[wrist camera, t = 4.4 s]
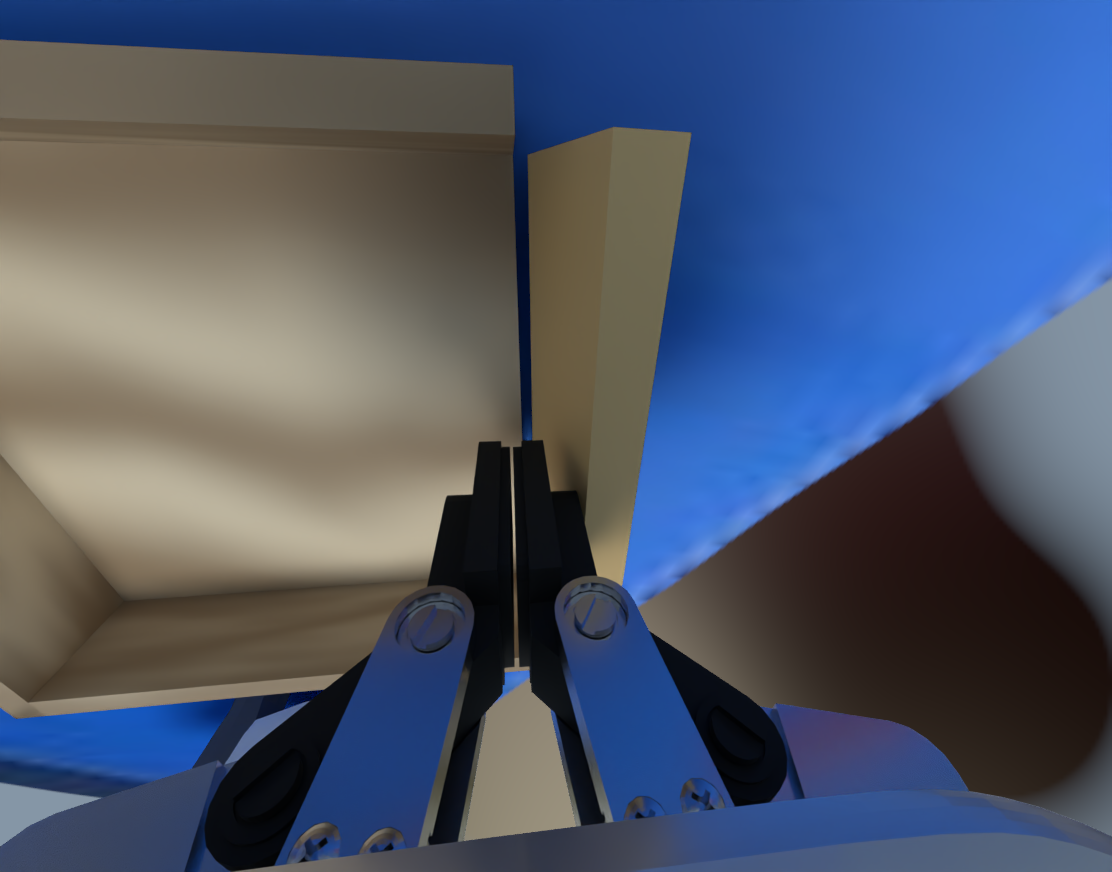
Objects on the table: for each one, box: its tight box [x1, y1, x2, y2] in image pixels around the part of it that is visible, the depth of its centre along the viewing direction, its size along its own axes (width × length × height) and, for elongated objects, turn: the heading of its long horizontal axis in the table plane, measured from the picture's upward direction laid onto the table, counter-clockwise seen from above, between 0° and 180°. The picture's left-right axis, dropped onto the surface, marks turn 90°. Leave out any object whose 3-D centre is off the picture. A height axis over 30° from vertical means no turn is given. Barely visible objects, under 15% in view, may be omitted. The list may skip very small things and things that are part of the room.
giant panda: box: [192, 693, 309, 769], centre depth 16 cm, size 15×6×10 cm, turn 112°
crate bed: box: [0, 40, 530, 719], centre depth 11 cm, size 16×16×4 cm
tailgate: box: [528, 127, 691, 586], centre depth 11 cm, size 14×1×4 cm, turn 179°
